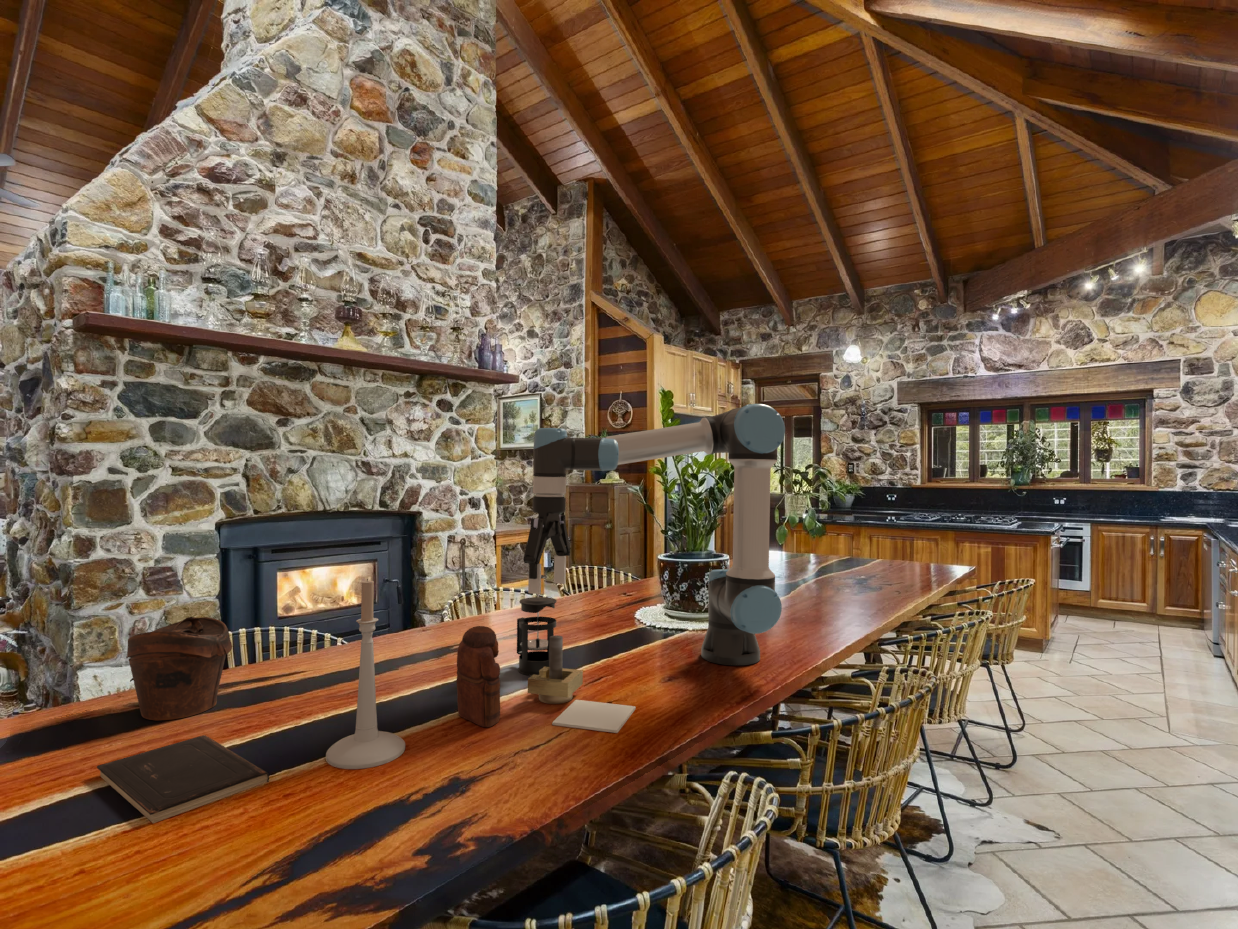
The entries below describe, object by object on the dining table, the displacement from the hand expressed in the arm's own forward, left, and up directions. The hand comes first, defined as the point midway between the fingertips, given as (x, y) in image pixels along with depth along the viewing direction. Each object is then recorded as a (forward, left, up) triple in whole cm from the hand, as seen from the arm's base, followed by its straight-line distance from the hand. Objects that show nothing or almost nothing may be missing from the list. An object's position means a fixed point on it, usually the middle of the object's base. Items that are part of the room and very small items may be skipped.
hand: (547, 588), depth 153 cm
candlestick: (+15, +44, -22) cm, 51 cm away
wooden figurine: (+4, +24, -22) cm, 33 cm away
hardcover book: (+36, +61, -22) cm, 74 cm away
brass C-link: (-6, +9, -20) cm, 22 cm away
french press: (+6, -8, -22) cm, 24 cm away
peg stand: (-6, +9, -22) cm, 24 cm away
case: (+64, +38, -22) cm, 78 cm away
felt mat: (-17, +16, -22) cm, 32 cm away
